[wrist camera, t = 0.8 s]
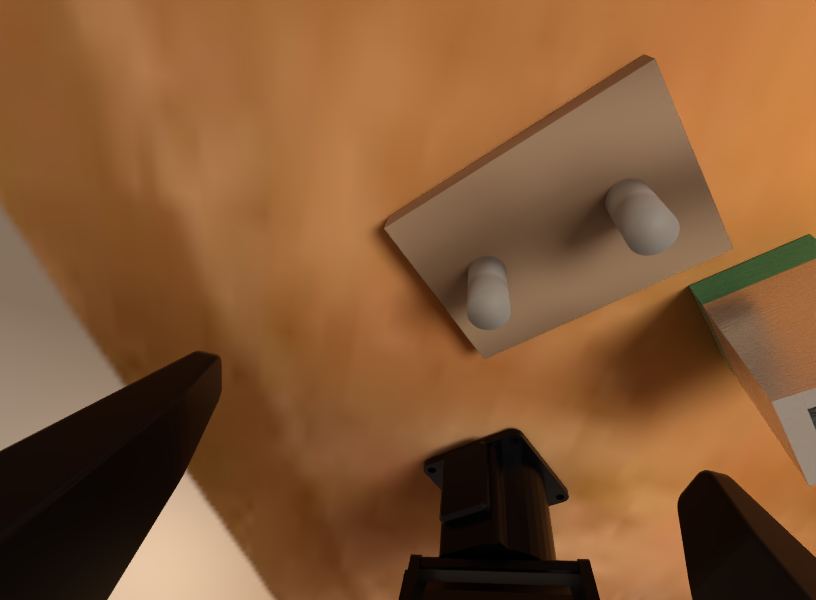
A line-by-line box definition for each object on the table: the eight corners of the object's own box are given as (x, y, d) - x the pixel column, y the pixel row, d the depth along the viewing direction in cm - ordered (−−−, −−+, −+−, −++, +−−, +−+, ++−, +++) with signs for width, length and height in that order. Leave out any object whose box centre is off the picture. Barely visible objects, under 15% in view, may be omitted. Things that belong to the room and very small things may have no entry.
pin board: (720, 235, 19) (774, 289, 16) (483, 343, 24) (485, 404, 20) (644, 54, 16) (689, 72, 13) (388, 216, 21) (370, 263, 17)
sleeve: (836, 316, 21) (977, 444, 15) (722, 357, 23) (808, 485, 17) (809, 234, 19) (957, 342, 13) (688, 286, 21) (771, 401, 15)
